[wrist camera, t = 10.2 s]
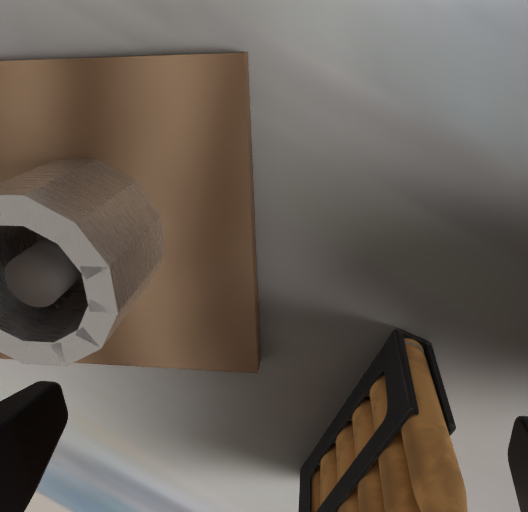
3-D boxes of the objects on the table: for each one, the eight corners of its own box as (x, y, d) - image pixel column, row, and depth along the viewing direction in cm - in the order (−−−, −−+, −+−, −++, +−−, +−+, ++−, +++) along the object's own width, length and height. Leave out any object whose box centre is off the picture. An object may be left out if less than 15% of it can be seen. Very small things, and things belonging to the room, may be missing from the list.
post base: (247, 52, 17) (214, 55, 12) (260, 360, 23) (241, 447, 18) (-89, 63, 19) (-238, 70, 14) (2, 346, 25) (-80, 422, 20)
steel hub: (153, 158, 18) (96, 195, 14) (171, 299, 21) (128, 369, 16) (5, 158, 19) (-96, 193, 14) (40, 294, 22) (-36, 359, 17)
